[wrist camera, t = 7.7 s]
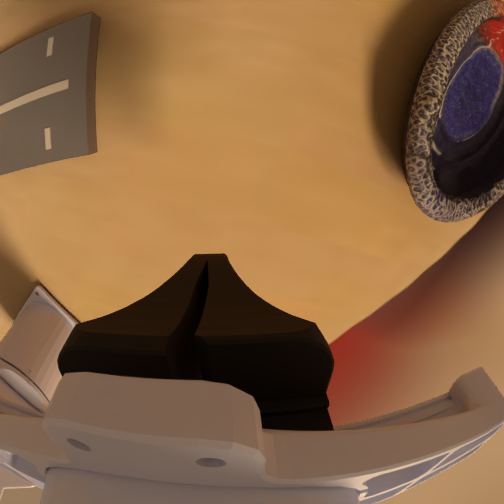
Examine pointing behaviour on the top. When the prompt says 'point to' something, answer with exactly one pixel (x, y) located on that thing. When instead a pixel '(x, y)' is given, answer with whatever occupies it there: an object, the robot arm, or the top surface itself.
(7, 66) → the mixer panel
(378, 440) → the robot arm
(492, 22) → the dish
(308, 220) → the top surface
